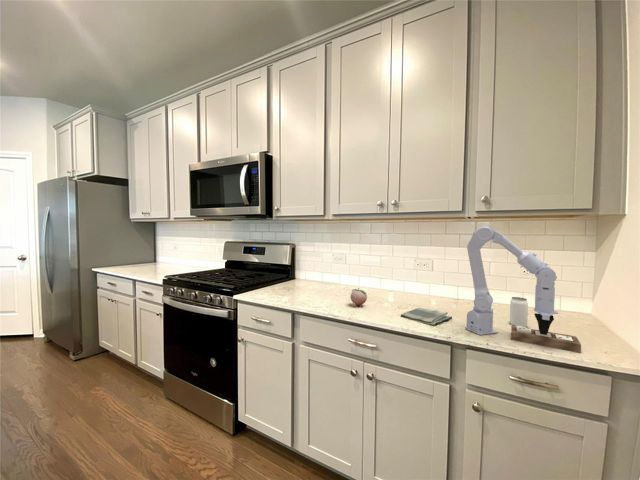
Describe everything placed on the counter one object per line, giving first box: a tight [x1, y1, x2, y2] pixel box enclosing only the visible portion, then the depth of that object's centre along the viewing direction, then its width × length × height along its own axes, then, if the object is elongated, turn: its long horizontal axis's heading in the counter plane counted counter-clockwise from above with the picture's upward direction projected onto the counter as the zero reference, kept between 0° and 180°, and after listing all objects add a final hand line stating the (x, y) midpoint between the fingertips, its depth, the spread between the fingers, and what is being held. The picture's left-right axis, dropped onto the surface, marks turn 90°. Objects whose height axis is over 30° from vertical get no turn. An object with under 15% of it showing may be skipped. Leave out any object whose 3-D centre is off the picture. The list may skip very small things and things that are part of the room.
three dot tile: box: [516, 326, 532, 334], centre depth 110 cm, size 5×5×3 cm
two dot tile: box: [555, 334, 573, 341], centre depth 103 cm, size 5×5×3 cm
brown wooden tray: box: [510, 325, 582, 353], centre depth 106 cm, size 20×9×3 cm, turn 55°
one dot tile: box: [535, 331, 552, 338], centre depth 106 cm, size 5×5×3 cm
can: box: [509, 296, 529, 327], centre depth 125 cm, size 6×6×12 cm
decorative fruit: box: [350, 287, 368, 307], centre depth 154 cm, size 9×8×10 cm
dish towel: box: [400, 307, 453, 327], centre depth 135 cm, size 19×18×3 cm
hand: (543, 333), depth 106 cm, fingers closed, pressing on one dot tile
